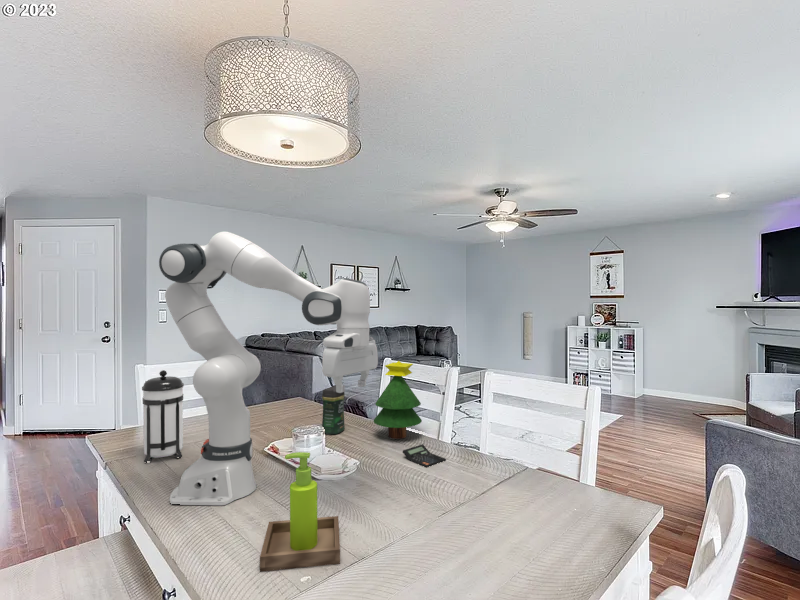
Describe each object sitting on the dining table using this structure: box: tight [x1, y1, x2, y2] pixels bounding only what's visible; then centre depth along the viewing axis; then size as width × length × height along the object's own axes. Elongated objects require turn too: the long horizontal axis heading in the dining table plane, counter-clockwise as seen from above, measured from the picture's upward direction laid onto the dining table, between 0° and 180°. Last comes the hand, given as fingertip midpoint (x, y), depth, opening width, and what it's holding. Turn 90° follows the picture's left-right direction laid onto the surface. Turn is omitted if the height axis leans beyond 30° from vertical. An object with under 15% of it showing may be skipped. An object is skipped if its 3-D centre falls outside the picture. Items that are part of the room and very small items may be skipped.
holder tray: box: [259, 515, 341, 573], centre depth 96 cm, size 16×14×3 cm
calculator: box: [402, 443, 447, 468], centre depth 149 cm, size 9×12×3 cm
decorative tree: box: [373, 360, 423, 440], centre depth 174 cm, size 19×19×30 cm
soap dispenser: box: [284, 451, 318, 551], centre depth 97 cm, size 6×7×20 cm
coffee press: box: [141, 369, 185, 464], centre depth 151 cm, size 17×16×30 cm
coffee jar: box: [321, 385, 346, 436], centre depth 179 cm, size 10×8×19 cm
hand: (351, 389), depth 119 cm, fingers open, 8 cm apart
